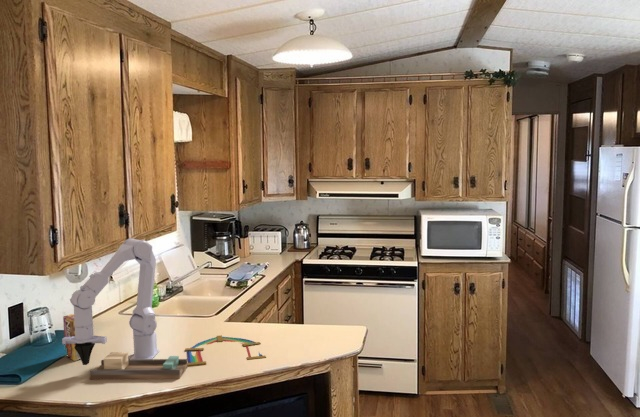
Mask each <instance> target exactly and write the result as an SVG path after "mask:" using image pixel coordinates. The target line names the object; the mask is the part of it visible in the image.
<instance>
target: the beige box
mask: <svg viewBox="0 0 640 417" xmlns="http://www.w3.org/2000/svg"><path fill="white" fill-rule="evenodd" d="M128 359H129V352H127V351H124V352H122V351H121V352H120V351H119V352H118V351H117V352H115V351H114V352H113V351H112V352H109V353H108V354H107V355H106V356H105V357H104V358H103V360H104V369H125V368H126V367H127V366H128V365H129V362H128Z"/></svg>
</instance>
